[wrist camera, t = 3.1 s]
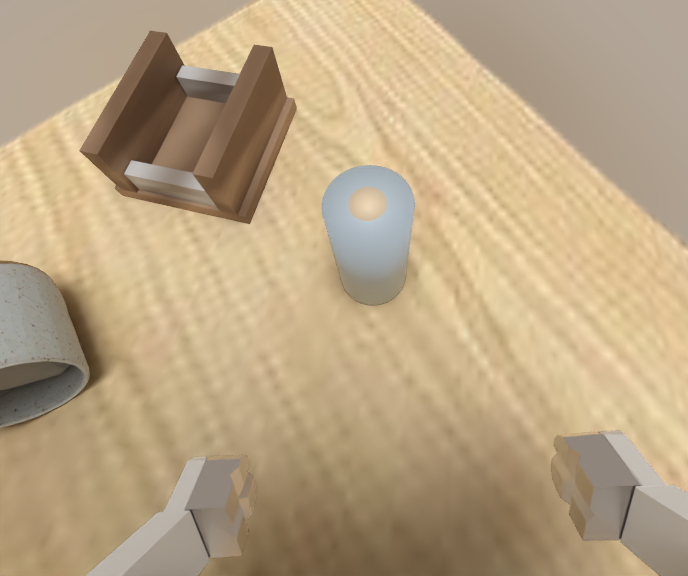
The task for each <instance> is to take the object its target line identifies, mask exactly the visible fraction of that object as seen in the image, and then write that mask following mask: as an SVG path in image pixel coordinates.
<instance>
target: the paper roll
mask: <svg viewBox="0 0 688 576" xmlns="http://www.w3.org/2000/svg"><path fill="white" fill-rule="evenodd" d="M414 207H415V202H414V196H413V192H412V190H411V188H410V186H409V184H408V183H407V182H406V180H405V179H404V178H403V177H402V176H400V175H399V174H398V173H396V172H394V171H392V170H390V169H388V168H385V167H381V166H373V165H367V166H359V167H355V168H352V169H349V170H347V171H345V172H343V173H342V174H340V175H339V176H337V177H336V178H335V179H334V180H333V181H332V182H331V183H330V185H329V186H328V188H327V189H326V191H325V193H324V196H323V200H322V215H323V218H324V222H325V225H326V229H327V232H328V236H329V239H330V243H331V246H332V250H333V253H334V257H335V260H336V264H337V267H338V271H339V274H340V278H341V281H342V285H343V287H344V289H345V291H346V292H347V294H348V295H349V296H350V297H351V298H353V299H354V300H355V301H357V302H359V303H362V304H366V305H380V304H384V303H386V302H389V301H390V300H392V299H393V298H395V297H396V296H397V295H398V294H399V292H400V291H401V289H402V288H403V285H404V282H405V277H406V269H407V262H408V254H409V246H410V239H411V231H412V223H413V216H414Z"/></svg>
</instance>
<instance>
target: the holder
mask: <svg viewBox="0 0 688 576" xmlns="http://www.w3.org/2000/svg"><path fill="white" fill-rule="evenodd" d="M295 111H296V104H295V101H294V99H292V98H287V96H286V93H285V89H284V86H283V82H282V79H281V75H280V72H279V69H278V65H277V62H276V58H275V55H274V51H273V48H272V47H267V46H259V45H254V46H253V48H252V50H251V52H250V54H249V56H248V58H247V60H246V62H245V65H244V67H243V69H242V71H241V73H240V74H236V73H230V72H223V71H217V70H210V69H203V68H197V67H190V66H185V65H184V64H183V62H182V60H181V58H180V56H179V54H178V53H177V51H176V49H175V47H174V45H173V43H172V42H171V40H170V38H169V36H168V34H167V33H163V32H155V31H150V32H149V34H148V36H147V37H146V39H145V41H144V42H143V44H142V46H141V47H140V49H139V51H138V52H137V54H136V56H135V58H134V60H133V61H132V63H131V65H130V66H129V68H128V69H127V71H126V73H125V74H124V76H123V78H122V80H121V81H120V83H119V85H118V86H117V88H116V90H115V91H114V93H113V95H112V96H111V98H110V100H109V102H108V103H107V105H106V107H105V108H104V110H103V112H102V113H101V115H100V117H99V118H98V120H97V122H96V123H95V125H94V127H93V129H92V130H91V132H90V134H89V135H88V137H87V139H86V140H85V142H84V144H83V145H82V147H81V149H80V152H81V153H82V154H83V155H85V156H86V157H87V158H88V159H89V160H90V161H91V162H92V163H93V164H94V165H95V166H96V167H97V168H99V169H100V170H101V171H102V172H103V173H104V174H105V175H106V176H107V177H108V178H109V179H110V180H112V181H113V182H114V183H115V184H116V186H115V189H116V190H117V191H118V192H119V193H121V194H122V195H124V196H128V197H133V198H137V199H141V200H146V201H150V202H155V203H159V204H164V205H168V206H173V207H177V208H182V209H186V210H191V211H195V212H199V213H204V214H208V215H213V216H217V217H222V218H226V219H231V220H235V221H240V222H244V223H248V224H250V222H251V219H252V217H253V214H254V212H255V209H256V207H257V204H258V202H259V199H260V197H261V194H262V192H263V190H264V187H265V185H266V182H267V180H268V177H269V175H270V172H271V170H272V167H273V165H274V162H275V160H276V158H277V155H278V153H279V150H280V148H281V145H282V143H283V140H284V138H285V135H286V133H287V131H288V128H289V126H290V123H291V121H292V118H293V116H294V113H295Z"/></svg>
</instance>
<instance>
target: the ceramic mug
mask: <svg viewBox="0 0 688 576" xmlns="http://www.w3.org/2000/svg"><path fill="white" fill-rule="evenodd" d="M89 377H90V374H89V367H88V364H87V362H86V359H85V356H84V354H83V351H82V349H81V346H80V343H79V341H78V337H77V334H76V332H75V329H74V327H73V324H72V321H71V319H70V316H69V313H68V310H67V307H66V304H65V301H64V298H63V296H62V294H61V292H60V290H59V289H58V287H57V286H56V284H55V283H54V282H53V280H52V279H51V278H50V277H49V276H48V275H47V274H46V273H45V272H43V271H41V270H39V269H38V268H35V267H33V266H30V265H27V264H23V263H18V262H13V261H0V428H1V427H5V426H10V425H14V424H17V423H20V422H24V421H27V420H30V419H33V418H36V417H38V416H40V415H43V414H45V413H47V412H49V411H51V410H53V409H55V408H57V407H59V406H61V405H63V404H64V403H66V402H68V401H69V400H71V399H72V398H73V397H75V396H76V395H77V394H78V393H79V392H80V391H81V390H83V389H84V387H85V386H86V384H87V383H88V381H89Z"/></svg>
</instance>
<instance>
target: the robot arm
mask: <svg viewBox="0 0 688 576" xmlns="http://www.w3.org/2000/svg"><path fill="white" fill-rule="evenodd" d="M554 447H555V449H556V451H557V454H556V455H555V456H554V457H553V458H552V461H551V472H552V478H553V482H554V485H555V487H556V490H557V492H558V494H559V496H560V498H562V499H563V500H564V501H566V502H567V503H568V504H570V511H569V515H570V517H571V519H572V521H573V523H574V525H575V527H576V529H577V531H578V532H579V534H580V536H581V538H582V540H583V541H589V540H621V541H620V542H621V543H622V544H623V545H625V546H626V547H627V548H628V549H629V550H630V551H631V552H633V553H634V554H635V555H636V556H637V557H638V558H640V559H641V560H642V561H643V562H644V563H645V564H647V565H648V566H649V567H650V568H651V569H652V570H653V571H655V572H656V573H657V574H658V575H659V576H688V493H687V492H685V491H683V490H682V489H680V488H678V487H676V486H675V485H666V484H665V482H664V481H663V480H662V479H661V478H660V476H659V475H658V474H657V473H656V471H655V470H654V469H653V468H652V467H651V465H650V464H649V463H648V462H647V461H646V459H645V458H644V457H643V456H642V454H641V453H640V452H639V451H638V450H637V448H636V447H635V446H634V445H633V443H632V442H631V441H630V440H629V439H628V437H627V436H626V435H625V434H624V433H623V432H621V431H620V430H615V431H601V432H586V433H572V434H559V435H557V436H556V437H555V440H554ZM249 466H250V463H249V460H248V457H247V455H226V456H207V457H191V458H190V459H189V460H188V461H187V463H186V465H185V467H184V469H183V471H182V473H181V476H180V478H179V480H178V482H177V484H176V486H175V488H174V490H173V493H172V495H171V497H170V499H169V501H168V503H167V505H166V507H165V509H164V512H158V513H156V514H155V515H154V516H153V517H152V518H151V519H150V520H148V521H147V522H146V523H145V524H144V525H143V526H142V527H140V528H139V529H138V530H137V531H136V532H135V533H134V534H132V535H131V536H130V537H129V538H128V539H127V540H126V541H124V542H123V543H122V544H121V545H120V546H119V547H117V548H116V549H115V550H114V551H113V552H112V553H111V554H109V555H108V556H107V557H106V558H105V559H104V560H103V561H101V562H100V563H99V564H98V565H97V566H96V567H95V568H93V569H92V570H91V571H90V572H89V573H88V574H87V575H85V576H198V575H199V574H200V572H201V571H202V570H203V569H204V567H205V566H206V565H207V563H208V562H209V561H210V559H209V558H219V557H233V556H242V555H243V551H244V547H245V543H246V540H247V536H248V532H249V529H248V526H247V522H246V521H247V520H248V518H249V517H250V516H251V515H252V514H253V511H254V507H255V502H256V484H255V480H254V476H253V475H251V474H250V473H249V472H248V470H249Z"/></svg>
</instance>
